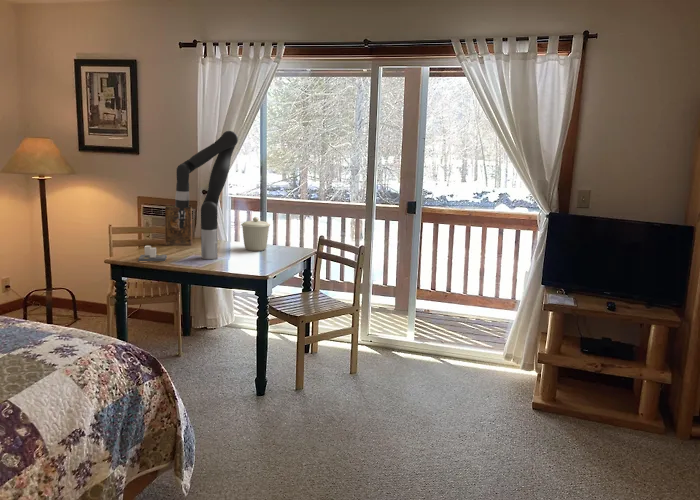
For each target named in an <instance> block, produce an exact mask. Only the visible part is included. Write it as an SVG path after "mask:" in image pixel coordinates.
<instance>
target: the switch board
mask: <svg viewBox="0 0 700 500" xmlns="http://www.w3.org/2000/svg"><path fill="white" fill-rule="evenodd" d="M166 258H168V255H167V254H156V258H150V256H145V254H140V256H139V257H138V262H139V261H165V260H166V261H167V259H166ZM166 261H165V262H166Z"/></svg>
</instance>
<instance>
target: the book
mask: <svg viewBox="0 0 700 500" xmlns="http://www.w3.org/2000/svg"><path fill="white" fill-rule="evenodd" d="M178 210H180V209H179V208H177V207H175V205H166V206H165V208H164V213H165V214H164V217H165V218H164V219H165V220H164V222H165V223H164V226H165V229H164V230H165V245H166V246H167V247H168V246H170V247H172V246H177V247H179V246H180V247H181V246H185V247H186V246H187V247H188V246H189V247H190V246H193V206H191V205H189V207H188V208H184V210H185V211H186V214H185V219H184V228H180V225H179V223H180V221H179V220H180V219H179V214H178Z"/></svg>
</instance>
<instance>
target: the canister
mask: <svg viewBox="0 0 700 500" xmlns="http://www.w3.org/2000/svg"><path fill="white" fill-rule="evenodd" d="M240 225H241V228H242V237H243V238H242V239H243V244H244V248H245V249H246V250H247V251H251V252H262V251H264V250H266V248H267V245H268V238H269V231H270V230H269V229H270V226H271V224H270V223H268V221H263V220H259V217H256V216H254V217H253V218H252V220H247V221H243V222H242V223H241V224H240Z"/></svg>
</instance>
